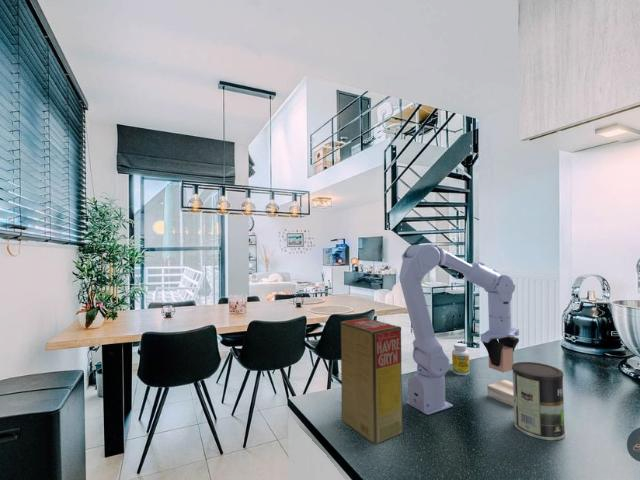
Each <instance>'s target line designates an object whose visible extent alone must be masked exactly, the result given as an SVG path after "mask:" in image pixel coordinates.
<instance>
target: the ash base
mask: <svg viewBox="0 0 640 480" xmlns="http://www.w3.org/2000/svg"><path fill="white" fill-rule="evenodd" d="M486 387H487V397H489V398H491V399H494V400H497V401H499V402H500V403H501V402H502V403H503V404H506V405H508V406H510V407H513V408H514V395H513V381H510V380H506V379H503V380H500V381H497V382H496V381H495V382H494V383H493V382H492V383H491V384H488V385H487V386H486Z"/></svg>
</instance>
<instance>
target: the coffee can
mask: <svg viewBox="0 0 640 480" xmlns="http://www.w3.org/2000/svg"><path fill="white" fill-rule="evenodd" d="M511 371H512V383H513V395H514V407H513V413H514V414H513V415H514V417H513V419H514V420H513V424H514V426H515V428H516V429H517V430H518V431H519V432H521V433H523V434H525V435H527V436H529V437H531V438H535V439H538V440H544V441H551V442H552V441H560V440H562V439H564V438H565V436H566V431H565V430H566V429H565V408H564V405H565V404H564V403H565V401H564V372H563V370H561V369H559V368H557V367H555V366H552V365H549V364H545V363H542V362H541V363H539V362H535V361H534V362H532V361H519V362H515V363H514V362H513V365H512V370H511Z"/></svg>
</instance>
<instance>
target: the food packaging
mask: <svg viewBox="0 0 640 480" xmlns="http://www.w3.org/2000/svg"><path fill="white" fill-rule="evenodd" d="M340 358H341V359H340V360H341V361H340V365H341V366H340V367H341V369H340V370H341V371H340V372H341V373H340V374H341V377H340V379H341V421H342V422H343V423H345V424H346V425H347V426H348V427H350V428H351V429H353V430H354V431H355V432H356V433H358V434H359V435H360V436H361V437H362V438H364V439H366V441H368V442H369V443H372V444H373V445H374V446H376V445H379V444H381V443H383V442H385V441H387V440H391V439H392V438H394V437H396V436H399V435H401V434H403V433H404V432H403V393H402V388H403V387H402V382H403V381H402V327H401V326H399V325H394V324H390V323H387V322H383V321H382V322H381V321H380V320H379V321H378V320H374V319H371V318H367V317H362V318H355V319H349V320H348V319H347V320H343V321H340Z"/></svg>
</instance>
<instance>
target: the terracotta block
mask: <svg viewBox="0 0 640 480" xmlns="http://www.w3.org/2000/svg"><path fill="white" fill-rule="evenodd" d="M487 354H488V353H487ZM513 364H514V352H513V348H510V347H506V346H503V348H502V351H501V359H500V366H495V365H492V364H491V361H490V357H489V354H488V368H489V369H492V370H495V371H497V372H501V373H506V372H510V371H513V370H512V365H513Z"/></svg>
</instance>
